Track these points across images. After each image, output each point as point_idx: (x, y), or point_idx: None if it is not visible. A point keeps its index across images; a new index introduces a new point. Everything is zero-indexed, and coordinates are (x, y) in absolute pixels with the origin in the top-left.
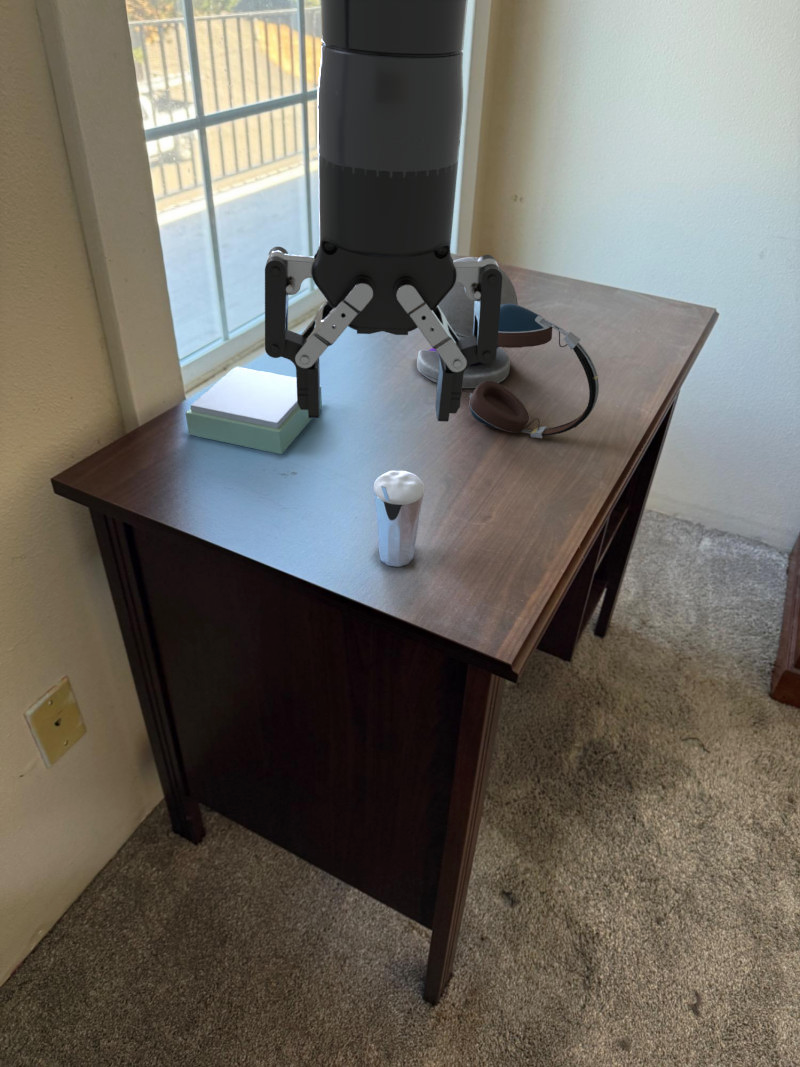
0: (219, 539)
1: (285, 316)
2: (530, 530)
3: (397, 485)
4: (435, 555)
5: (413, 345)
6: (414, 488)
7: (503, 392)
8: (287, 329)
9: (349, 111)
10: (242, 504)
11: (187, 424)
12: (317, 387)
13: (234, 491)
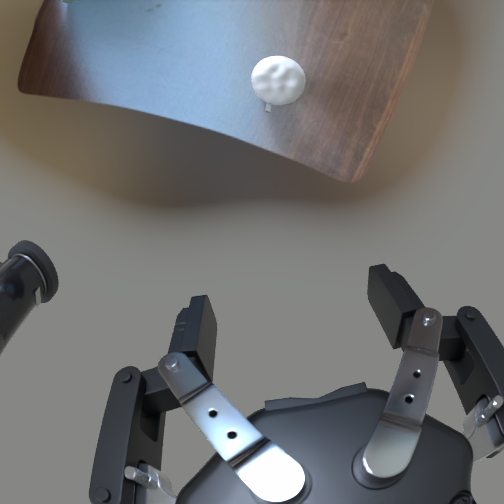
0: (123, 103)
1: (161, 452)
2: (378, 52)
3: (279, 90)
4: None
5: None
6: (297, 90)
7: None
8: (141, 389)
9: None
10: (126, 57)
11: (62, 1)
12: (213, 359)
13: (115, 45)
